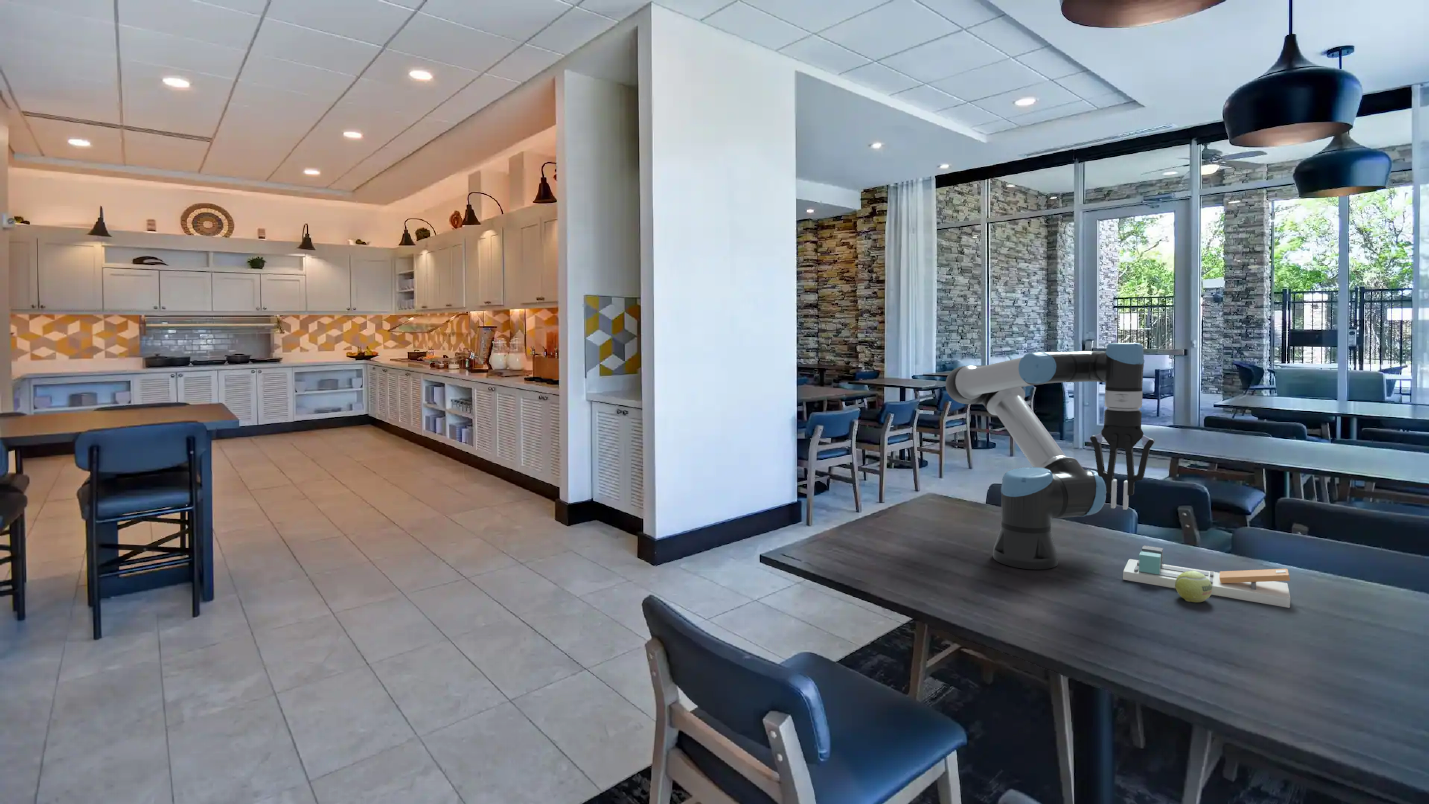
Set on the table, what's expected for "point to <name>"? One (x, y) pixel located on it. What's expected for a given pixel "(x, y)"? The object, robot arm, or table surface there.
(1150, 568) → the teal slider
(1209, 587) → the tennis ball
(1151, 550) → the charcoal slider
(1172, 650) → the table surface
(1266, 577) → the tan block
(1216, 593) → the panel
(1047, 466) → the robot arm
